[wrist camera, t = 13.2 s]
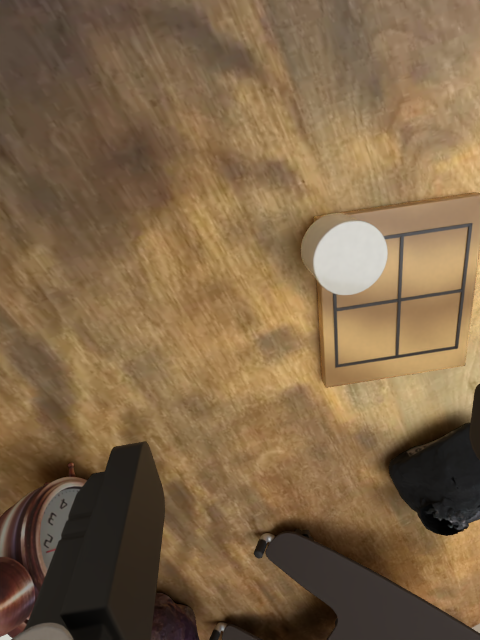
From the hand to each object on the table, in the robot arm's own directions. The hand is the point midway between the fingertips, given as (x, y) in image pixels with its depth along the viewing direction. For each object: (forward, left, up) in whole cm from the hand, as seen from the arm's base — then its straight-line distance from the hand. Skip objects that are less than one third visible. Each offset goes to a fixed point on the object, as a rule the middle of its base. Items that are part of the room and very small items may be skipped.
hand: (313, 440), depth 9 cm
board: (+5, +11, -20) cm, 24 cm away
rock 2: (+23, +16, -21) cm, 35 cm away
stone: (+1, +6, -19) cm, 20 cm away
